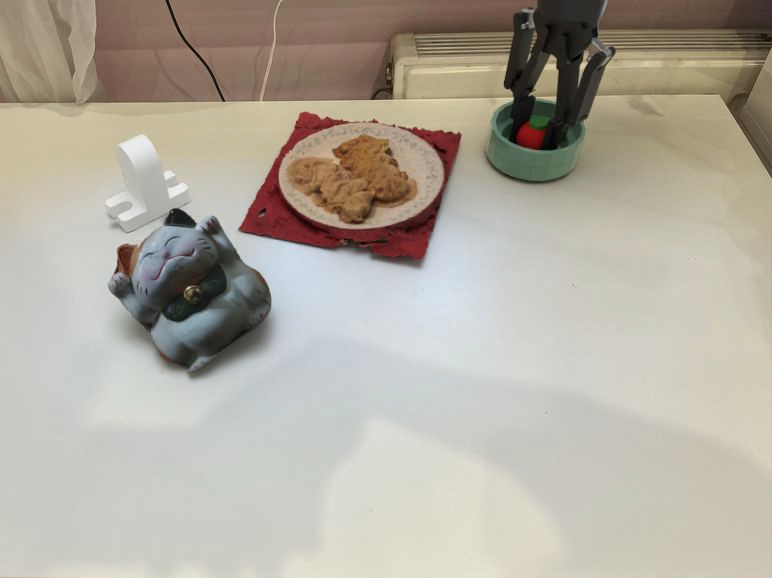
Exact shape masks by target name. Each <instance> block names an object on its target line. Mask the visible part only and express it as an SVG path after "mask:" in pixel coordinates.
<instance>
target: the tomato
mask: <svg viewBox="0 0 772 578" xmlns="http://www.w3.org/2000/svg"><path fill="white" fill-rule="evenodd" d="M547 124H548V120H547V119H546V118H544V117H542V116H534V117H532V118H531V119H530V121H529V122H527V123H525V124H524V125H523V126H522V127H521V128H520V130H519V131H518V134H517V144H518V146H521V147H523V148H528V149H533V150H540V148H541V145H542V141H543V138H544V134H545V131H546V127H547Z"/></svg>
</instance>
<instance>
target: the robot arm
mask: <svg viewBox="0 0 772 578" xmlns="http://www.w3.org/2000/svg"><path fill="white" fill-rule="evenodd" d="M607 3H608V0H536V8H535V9H534V7H533V6H527V7H525V8H523V9H521V10H518V11H516V12H515V13H514V14H513V15H512V23H513V36H512V40H511V45H510V50H509V55H508V59H507V64H506V69H505V75H504V80H503V87H504V89H505V90H507V91H508V90H510V92H511V93H512V97H513V100H512V101H513V105H512V109H511V113H510V116H511V119H513V124H512V128H511V132H510V136H509V141H510V142H511V143H514V144H517V134H518V131H519V130H520V128H521V127H522V126H523V125H524V124H525V123H527V122H529V121H530V119H531V115H532V111H533V107H534V103H535V100H536V98H537V97H536V96H535V95H533V94H532V93H533V92H536V91H537V89H536V88H535V87H536V85H537V83H538V81H539V79H540V77H541V75H542V73H543V71H544V69H545V67H546V65H547V63H548V61H549V59H550V57H551V56H553V57H554V58H555V59H556V62H555V69H556V70H557V83H556V84H557V85H556V96H555V102H556V110H555V117H554V118H552V119H550V120H548V124H547V127H546V131H545V134H544V138H543V141H542V145H541V148H540V150H544V151H552V150H557V147H558V144H560V143H561V142H563V141H564V140H565V139H566V136H567V132H568V130H569V126H571V127H573V126H575V125H577V124H579V123H581V122H582V121H584V122H585V120H587V119H588V118H589V116H590V113H591V111H592V107H593V104H594V101H595V99H596V95H597V93H598V89H599V88H600V84H601V82H602V79H603V76H604V73H605V70H606V68H607V66H608V64H609V63H610V62H611V60H612V59H613V58H614V57H615V55H616V53H617V50H616V48H615V46H614V45H609V46H607V47H606V45H604V43H603V42H602V41H601V39H600V38H599V35H600V30H599V22H600V20H601V19H602V17H603V14H604V12H605V10H606V7H607ZM534 34H536V39H535V41H534V44H533V46H532V43H533V40H534ZM531 47H532V48H531ZM587 49H588V55H587V57H586V58H585V62H586V65H585V67H584V69H583V71H582V74H581V78H580V71H581V65H582V63H583V62H584V57H585V51H586V50H587ZM530 94H531V95H530Z"/></svg>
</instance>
